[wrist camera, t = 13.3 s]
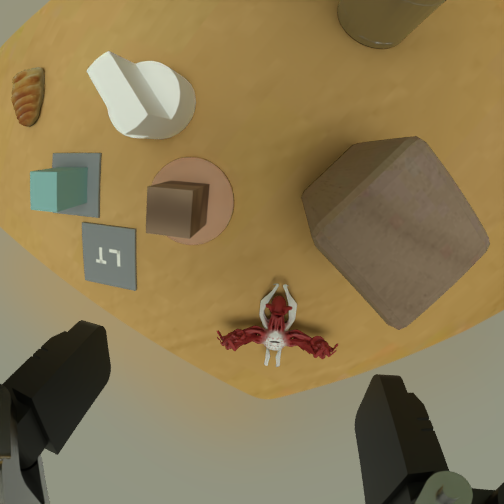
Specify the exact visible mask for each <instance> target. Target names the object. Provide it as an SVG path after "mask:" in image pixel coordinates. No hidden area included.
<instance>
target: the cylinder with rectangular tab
mask: <svg viewBox="0 0 504 504" xmlns="http://www.w3.org/2000/svg"><path fill="white" fill-rule="evenodd" d="M87 73H88V74H89V76H90V78H91V80H92V82H93V83H94V85H95V87H96V89H97V90H98V92H99V94H100V96H101V97H102V99H103V101H104V103H105V104H106V106H107V108H108V114H109V117H110V119H111V122H112V124H113V125H114V126H115V128H116V129H117V130H118V131H119V132H121V133H122V134H124V135H126V136H129V137H132V138H145V139H166V138H170V137H173V136H175V135H176V134H178V133H180V132H181V131H182V130H183V129H184V128H185V127H186V126H187V125H188V123H189V122H190V120H191V119H192V117H193V114H194V111H195V105H196V98H195V92H194V90H193V88H192V85H191V84H190V83H189V82H188V81H187V79H186V78H184V77H183V76H181V75H180V74H178V73H177V72H175V71H174V70H172V69H171V68H169V67H167V66H165V65H164V64H162V63H160V62H155V61H143V62H139V63H136V64H135V63H133V62H131V61H129V60H127V59H124V58H122V57H120V56H118V55H116V54H114V53H112V52H110V51H108V52H106V53H104V54H103V55H101V56H100V57H99V58H97V59H96V60H95V61H94V62H93V64H92V65H91V66H90V67H89V68H88V70H87Z"/></svg>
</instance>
